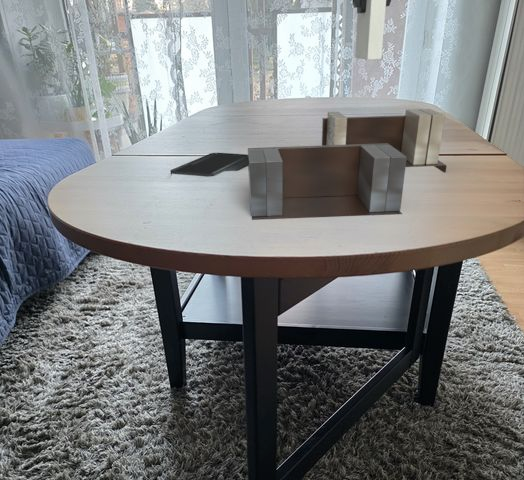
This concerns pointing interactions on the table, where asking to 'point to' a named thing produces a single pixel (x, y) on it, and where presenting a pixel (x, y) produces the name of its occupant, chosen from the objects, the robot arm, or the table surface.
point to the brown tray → (391, 134)
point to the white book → (370, 30)
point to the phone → (212, 164)
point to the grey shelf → (325, 181)
